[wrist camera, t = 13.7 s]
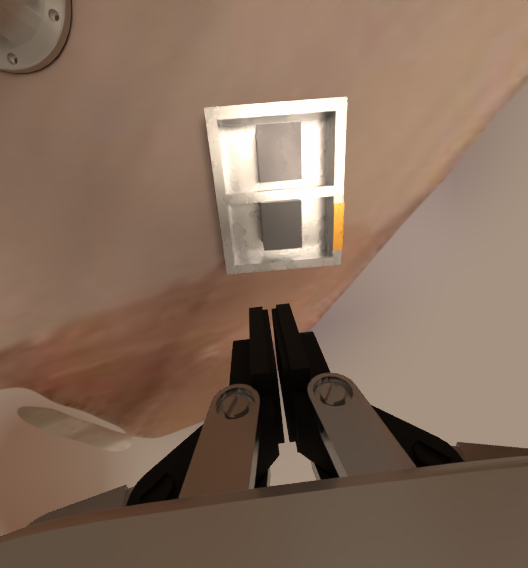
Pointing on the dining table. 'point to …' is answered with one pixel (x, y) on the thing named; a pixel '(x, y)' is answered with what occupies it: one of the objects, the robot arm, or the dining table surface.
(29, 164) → the dining table surface
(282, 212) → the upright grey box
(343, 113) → the grey divided tray
